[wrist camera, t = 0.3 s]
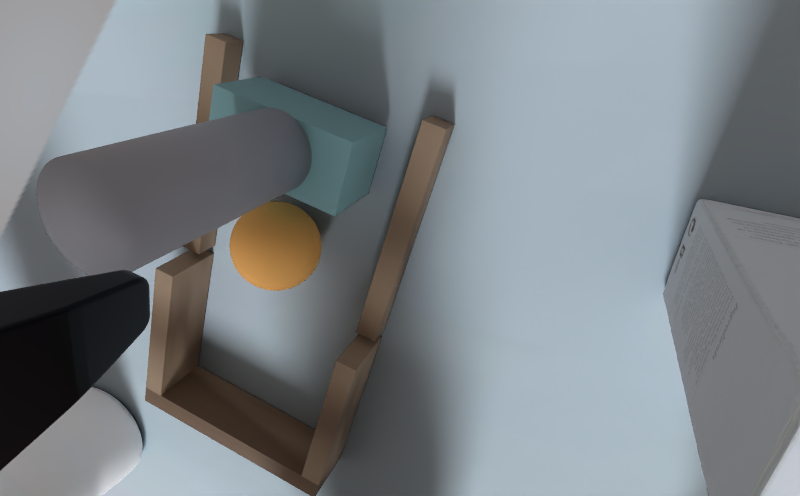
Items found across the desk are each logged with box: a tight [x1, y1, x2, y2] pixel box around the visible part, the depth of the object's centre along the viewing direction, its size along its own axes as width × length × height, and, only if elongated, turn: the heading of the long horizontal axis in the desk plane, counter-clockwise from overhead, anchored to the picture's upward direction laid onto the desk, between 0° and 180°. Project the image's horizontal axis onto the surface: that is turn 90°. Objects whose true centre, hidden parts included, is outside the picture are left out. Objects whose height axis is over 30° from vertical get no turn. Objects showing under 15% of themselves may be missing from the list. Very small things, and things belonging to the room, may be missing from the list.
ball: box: [230, 201, 322, 290], centre depth 24 cm, size 4×4×4 cm
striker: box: [36, 77, 387, 276], centre depth 18 cm, size 3×6×12 cm, turn 73°
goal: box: [145, 33, 455, 496], centre depth 26 cm, size 20×11×3 cm, turn 163°
